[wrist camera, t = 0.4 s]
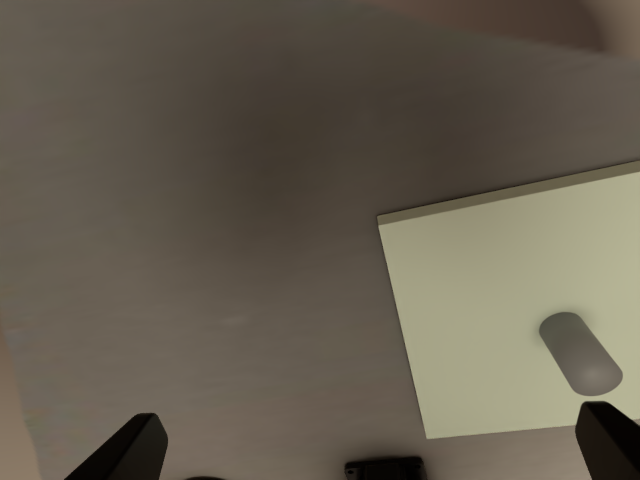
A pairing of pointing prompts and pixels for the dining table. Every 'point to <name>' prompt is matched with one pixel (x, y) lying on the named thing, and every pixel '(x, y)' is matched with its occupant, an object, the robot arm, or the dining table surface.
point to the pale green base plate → (521, 302)
